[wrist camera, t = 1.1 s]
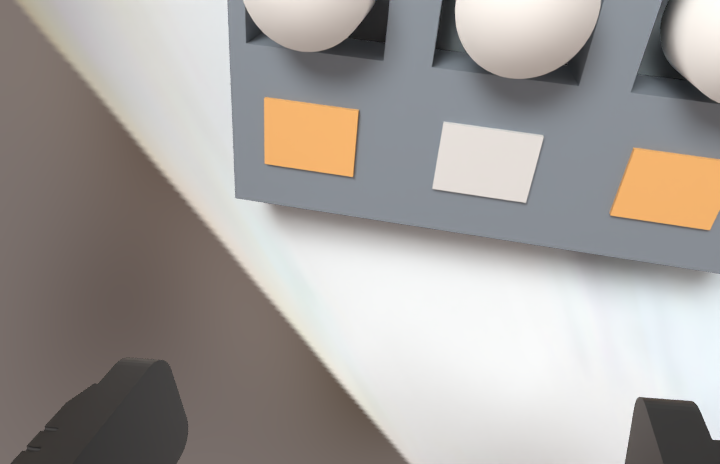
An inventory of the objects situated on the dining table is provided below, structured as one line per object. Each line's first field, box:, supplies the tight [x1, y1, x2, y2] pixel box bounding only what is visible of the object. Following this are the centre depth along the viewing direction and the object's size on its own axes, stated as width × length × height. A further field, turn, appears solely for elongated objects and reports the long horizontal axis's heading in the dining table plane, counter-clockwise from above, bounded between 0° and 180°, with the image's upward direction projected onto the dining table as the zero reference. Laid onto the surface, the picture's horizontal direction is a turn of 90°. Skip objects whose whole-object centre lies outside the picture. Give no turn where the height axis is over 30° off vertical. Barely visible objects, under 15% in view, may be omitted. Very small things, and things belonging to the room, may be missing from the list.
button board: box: [228, 0, 720, 274], centre depth 22 cm, size 22×16×3 cm
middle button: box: [455, 0, 601, 79], centre depth 20 cm, size 5×5×3 cm
